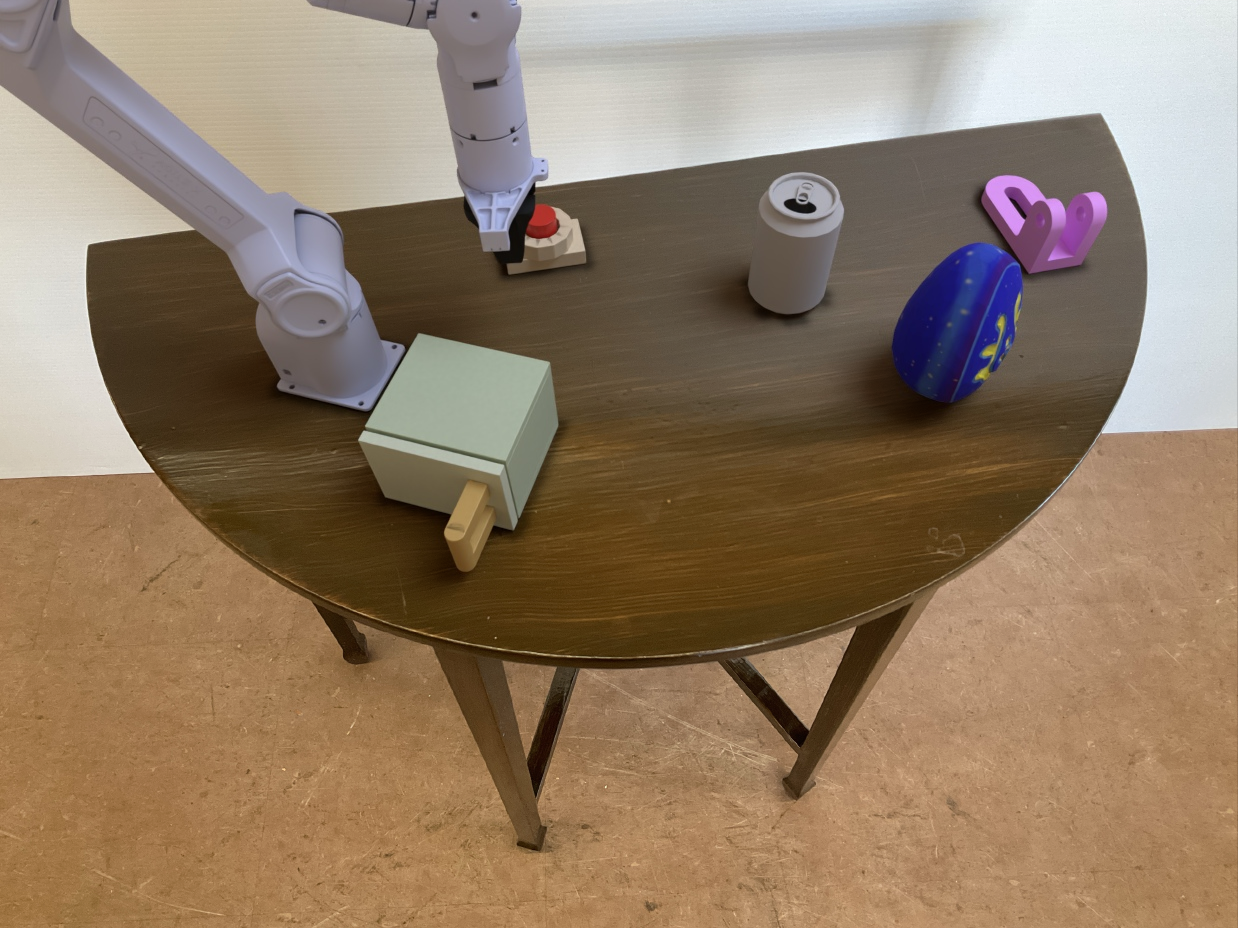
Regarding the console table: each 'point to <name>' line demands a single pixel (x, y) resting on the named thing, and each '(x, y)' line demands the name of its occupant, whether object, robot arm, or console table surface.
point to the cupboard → (473, 407)
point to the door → (445, 490)
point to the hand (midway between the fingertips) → (510, 258)
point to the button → (542, 222)
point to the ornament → (959, 323)
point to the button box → (553, 248)
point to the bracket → (1044, 223)
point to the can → (795, 242)
